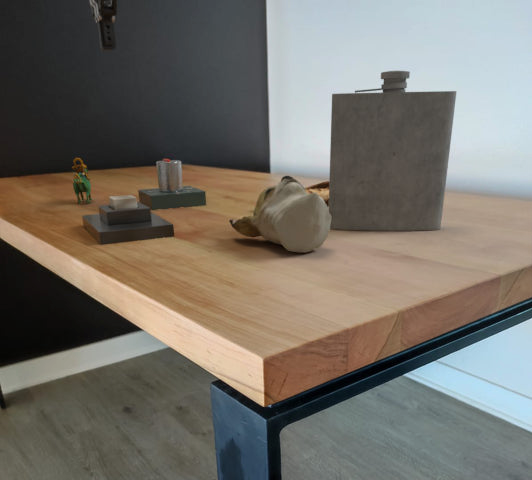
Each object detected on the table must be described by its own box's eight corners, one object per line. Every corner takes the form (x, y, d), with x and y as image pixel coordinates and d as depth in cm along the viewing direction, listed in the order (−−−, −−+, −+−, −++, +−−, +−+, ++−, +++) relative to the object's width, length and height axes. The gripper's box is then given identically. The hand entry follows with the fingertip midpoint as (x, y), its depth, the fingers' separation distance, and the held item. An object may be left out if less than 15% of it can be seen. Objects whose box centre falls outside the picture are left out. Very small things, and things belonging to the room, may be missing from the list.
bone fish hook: (336, 200, 104) (252, 206, 97) (337, 174, 103) (251, 178, 95) (365, 204, 97) (276, 211, 89) (367, 177, 95) (276, 182, 88)
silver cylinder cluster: (186, 190, 98) (184, 159, 96) (163, 192, 96) (160, 161, 94) (178, 187, 102) (175, 158, 100) (155, 189, 100) (152, 159, 98)
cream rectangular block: (115, 212, 75) (113, 199, 75) (110, 209, 78) (108, 196, 77) (138, 210, 77) (136, 197, 76) (132, 207, 79) (131, 194, 79)
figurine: (97, 197, 109) (91, 154, 106) (87, 207, 98) (80, 160, 95) (82, 198, 109) (75, 155, 106) (69, 208, 98) (62, 160, 95)
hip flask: (438, 225, 79) (456, 70, 70) (443, 231, 75) (462, 68, 67) (328, 224, 80) (332, 73, 72) (327, 230, 77) (332, 71, 68)
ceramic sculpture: (272, 180, 58) (222, 175, 70) (275, 261, 61) (226, 243, 74) (356, 175, 62) (294, 171, 74) (354, 251, 65) (295, 235, 78)
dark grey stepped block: (100, 245, 71) (97, 218, 69) (83, 226, 82) (79, 203, 81) (174, 236, 75) (172, 210, 73) (148, 220, 86) (145, 197, 85)
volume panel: (152, 210, 94) (150, 194, 93) (139, 203, 102) (137, 188, 101) (206, 205, 98) (205, 190, 97) (190, 199, 106) (189, 184, 105)
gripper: (60, -75, 84) (78, 53, 91) (72, -103, 73) (91, 45, 80) (109, -70, 87) (123, 54, 94) (128, -95, 76) (141, 46, 83)
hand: (108, 49), depth 87 cm, fingers closed
